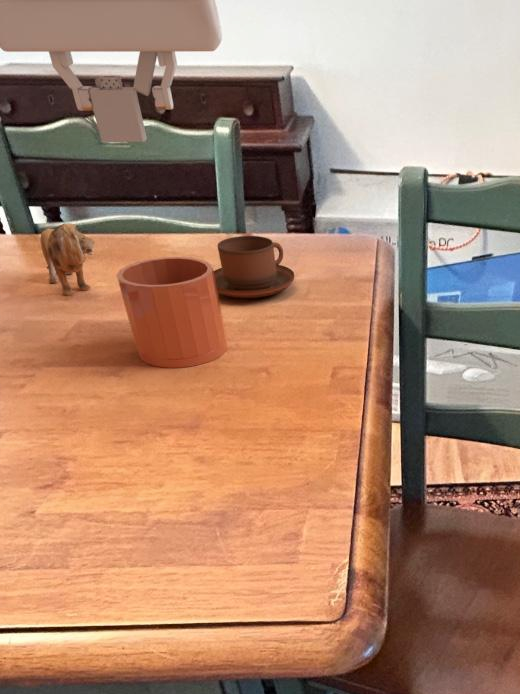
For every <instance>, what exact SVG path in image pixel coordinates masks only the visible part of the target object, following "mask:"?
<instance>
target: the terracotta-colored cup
mask: <svg viewBox="0 0 520 694" xmlns="http://www.w3.org/2000/svg"><path fill="white" fill-rule="evenodd" d="M214 271H215V269H214V267H213V265H212V264H211V263H210V262H209V261H206V260H204V259H199V258H194V257H189V256H188V257H186V256H166V257H155V258H149V259H144V260H140V261H136V262H134V263H130V264H128V265H125V266H124V267H122V268H121V269H119V270H118V272H117V273H116V280H117V283H118V287H119V289H120V290H119V291H120V294H121V297H122V301H123V305H124V308H125V311H126V315H127V319H128V323H129V326H130V330H131V333H132V338H133V340H134V344H135V347H136V350H137V354H138V357H139V359H140V361H142V362H143V363H145V364H147V365H150V366H154V367H158V368H168V369H169V368H170V369H172V368H174V369H175V368H177V369H178V368H189V367H195V366H199V365H203V364H207V363H209V362H212V361H214V360H217V359H218V358H220V357H221V356H223V355H224V354H225V353H226V352H227V350H228V341H227V340H228V339H227V332H226V329H225V323H224V317H223V313H222V307H221V302H220V297H219V293H218V291H217V286H216V281H215V275H214Z"/></svg>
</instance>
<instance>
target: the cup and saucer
mask: <svg viewBox="0 0 520 694" xmlns="http://www.w3.org/2000/svg"><path fill="white" fill-rule="evenodd" d="M275 249H277V250H278V258H277V259H276V255H275ZM217 250H218V255H219V260H220V266H221V267H220V268H217V269H214V275H215V281H216V286H217V291H218V294H220V295H223V296H225V297H230V298H237V299H256V298H264V297H268V296H272V295H276V294H278V293H281V292H282V291H284V290H286V289H288V288H289V287H290V286H291V284H292V283H293V282H294V280H295V271H293V270H292V269H291V268H289V267H287V266H285V265H281V263H282V262H283V259H284V249H283V247H282V244H280V243H279V242H276V241H275V242H273V240H272V239H271V238H268V237H264V236H258V235H239V236H233V237H228V238H225V239H222V240H220V241H219V242H218V243H217Z"/></svg>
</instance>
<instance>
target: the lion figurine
mask: <svg viewBox="0 0 520 694" xmlns="http://www.w3.org/2000/svg"><path fill="white" fill-rule="evenodd" d="M39 241H40V247H41V250H42V251H41V252H42V254H43V257H44V260H45V262H46V264H47V266H46V269H47V270H48V274H49V275H48V276H49V278H48V283H49V284H54V283H55V284H56V283H57V282H58V281H59V282H60V284H61V287H62V294H63V295H62V296H72V295H73V289H72V287H71V285H70V284H69V282H68V279H67V275H72V274H73V273H75V275H76V283H77V287H78V288H79V289H80V290H81V291H84V292H85V291H89V290H90V289H91V285H89V284H86V282H85V279H84V270H83V266H84V263H85V262H86V255H89V256H92V255H93V249H94V244H95V240H94V239H92V238H89V237H88V236H86V235H84V233H83V232H80V231H79V230H78V229H77V226H76V224H74V223H71V222H68V223H62V224H59V225H58V226H56V227H54V228H46V229H44V230H43V231H42V232H41V233H40V238H39Z"/></svg>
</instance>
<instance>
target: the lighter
mask: <svg viewBox="0 0 520 694" xmlns="http://www.w3.org/2000/svg"><path fill="white" fill-rule="evenodd" d="M157 60H158V58H157V53H156V52H139V55H138V59H137V65H136V70H135V74H134V81H133V86H125V87H124V86H123V81H122V77H121V75H100V76H97V77H96V78H95V79H94V84H95V86H96V87H92V88H91V89H89V90H88V91H89V95H90V99H91V103H92V106H93V110H92V111H93V114H94V119H95V123H96V125H97V126H96V127H97V130H98V133H99V134H98V135H99V137H100V141H101V143H139V142H141V143H142V142H143V143H144V142H146V141H147V139H148V137H147V133H146V128H145V123H144V119H143V115H142V111H141V106H140V102H139V98H138V93H139V94H142V95H144V96H146V97H149V96H150V94H151V90H152V85H153V84H152V83H153V78H154V73H155V68H156V63H157Z"/></svg>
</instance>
